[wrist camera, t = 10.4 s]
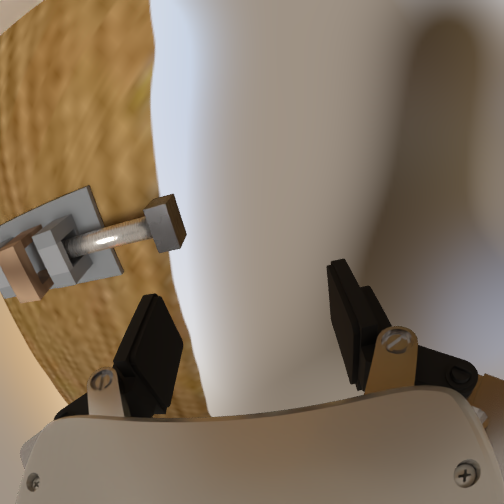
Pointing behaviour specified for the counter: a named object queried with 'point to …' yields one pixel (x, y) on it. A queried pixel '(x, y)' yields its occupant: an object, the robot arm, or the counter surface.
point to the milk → (14, 11)
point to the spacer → (24, 268)
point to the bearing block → (56, 230)
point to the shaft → (135, 231)
